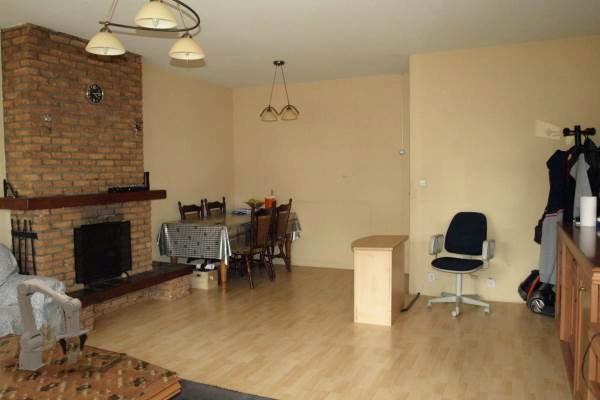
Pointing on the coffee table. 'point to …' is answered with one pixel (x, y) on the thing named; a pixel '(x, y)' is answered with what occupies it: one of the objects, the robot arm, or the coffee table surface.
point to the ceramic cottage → (45, 337)
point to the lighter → (73, 356)
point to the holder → (104, 368)
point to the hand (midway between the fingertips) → (73, 351)
